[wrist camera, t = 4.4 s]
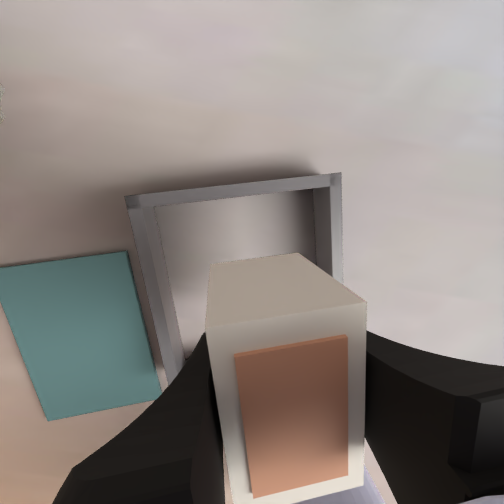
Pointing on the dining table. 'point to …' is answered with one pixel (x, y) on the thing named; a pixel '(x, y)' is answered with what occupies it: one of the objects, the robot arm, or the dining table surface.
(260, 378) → the box
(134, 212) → the bin
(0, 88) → the egg carton
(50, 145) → the dining table surface
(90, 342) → the mat
